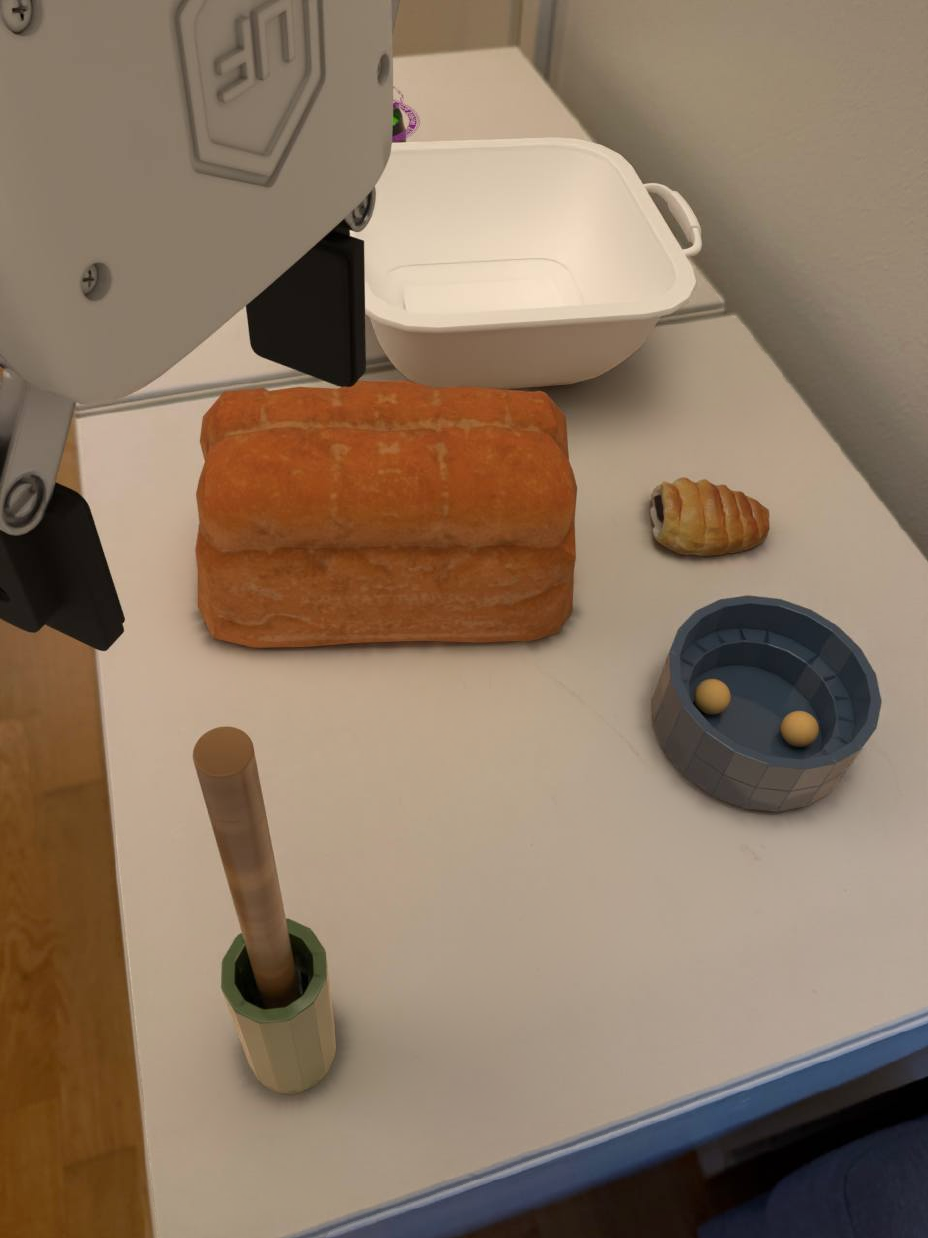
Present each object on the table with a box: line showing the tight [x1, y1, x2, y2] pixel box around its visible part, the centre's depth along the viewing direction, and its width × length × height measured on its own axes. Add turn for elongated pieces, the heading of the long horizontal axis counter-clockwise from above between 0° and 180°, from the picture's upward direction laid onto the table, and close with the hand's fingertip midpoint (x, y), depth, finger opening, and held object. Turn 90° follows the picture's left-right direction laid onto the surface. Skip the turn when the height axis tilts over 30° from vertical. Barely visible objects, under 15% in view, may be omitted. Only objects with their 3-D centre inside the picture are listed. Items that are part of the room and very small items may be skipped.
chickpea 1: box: [694, 679, 731, 714], centre depth 68 cm, size 2×2×2 cm
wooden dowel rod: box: [192, 726, 301, 1009], centre depth 42 cm, size 2×2×30 cm
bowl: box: [651, 595, 882, 812], centre depth 66 cm, size 13×13×6 cm
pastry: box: [649, 476, 770, 557], centre depth 79 cm, size 9×7×4 cm
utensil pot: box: [220, 918, 337, 1095], centre depth 49 cm, size 5×5×12 cm
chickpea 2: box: [781, 711, 819, 747], centre depth 67 cm, size 2×2×2 cm
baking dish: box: [350, 136, 703, 390], centre depth 89 cm, size 34×28×13 cm
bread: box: [194, 380, 578, 649], centre depth 69 cm, size 14×27×15 cm, turn 94°
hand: (197, 476), depth 24 cm, fingers open, 9 cm apart
